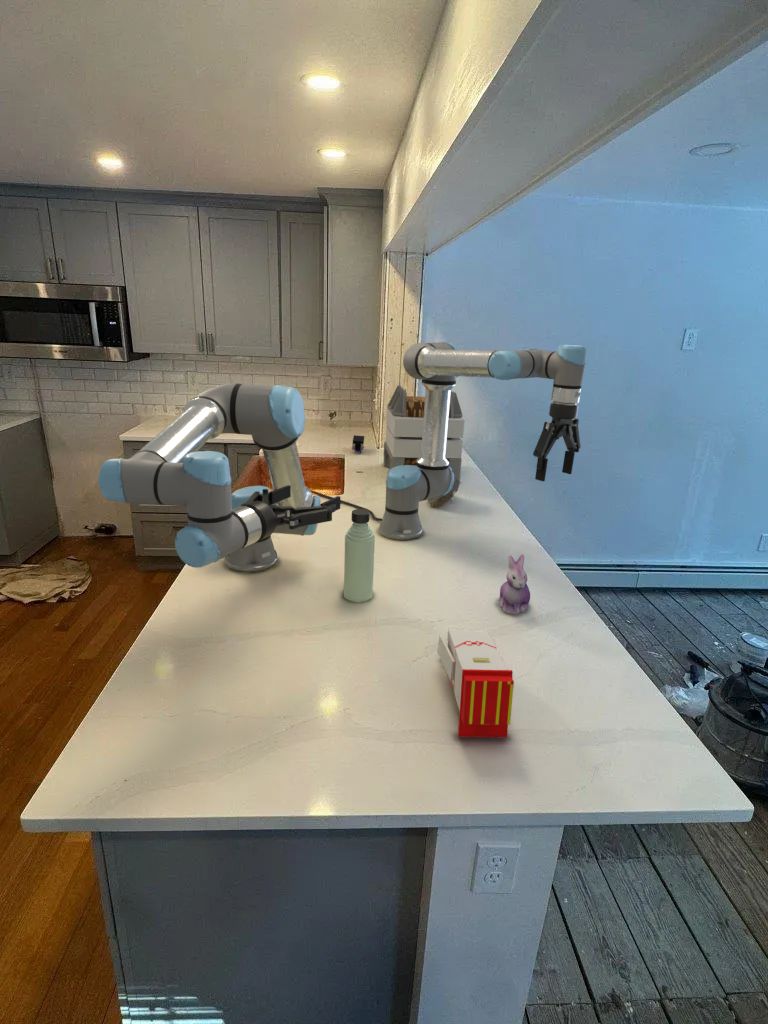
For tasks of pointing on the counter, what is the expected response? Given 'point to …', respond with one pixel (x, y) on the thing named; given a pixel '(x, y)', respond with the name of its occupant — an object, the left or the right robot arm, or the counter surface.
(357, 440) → the figurine character
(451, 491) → the fossil
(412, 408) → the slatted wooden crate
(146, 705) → the counter surface
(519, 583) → the figurine
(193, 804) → the counter surface
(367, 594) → the bottle
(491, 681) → the toy
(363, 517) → the cap
